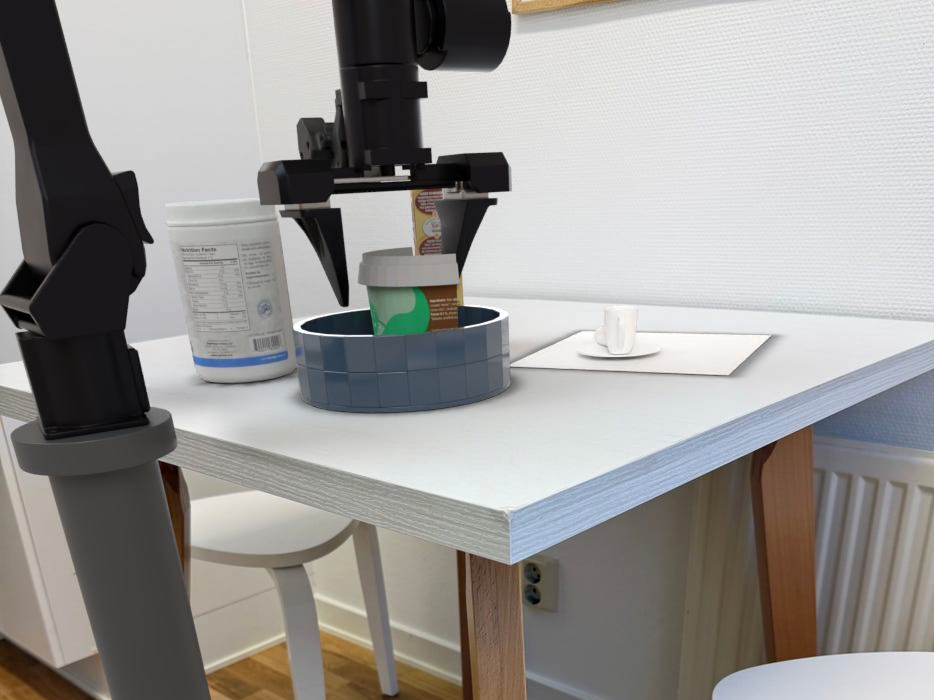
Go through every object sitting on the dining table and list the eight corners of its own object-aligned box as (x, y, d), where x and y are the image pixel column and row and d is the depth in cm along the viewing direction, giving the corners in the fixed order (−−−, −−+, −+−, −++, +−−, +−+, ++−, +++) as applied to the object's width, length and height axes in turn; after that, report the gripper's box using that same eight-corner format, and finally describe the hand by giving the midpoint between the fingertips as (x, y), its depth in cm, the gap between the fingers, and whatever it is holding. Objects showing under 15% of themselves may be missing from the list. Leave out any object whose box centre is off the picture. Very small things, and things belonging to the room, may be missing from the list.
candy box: (468, 359, 84) (459, 178, 77) (424, 362, 84) (411, 181, 77) (460, 344, 92) (451, 179, 85) (420, 347, 91) (408, 181, 84)
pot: (347, 424, 63) (337, 345, 60) (274, 386, 77) (264, 320, 74) (550, 389, 70) (549, 317, 68) (451, 360, 84) (447, 299, 81)
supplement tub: (218, 366, 87) (188, 201, 80) (311, 363, 86) (289, 195, 79) (180, 387, 79) (142, 204, 72) (282, 384, 78) (254, 198, 71)
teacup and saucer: (595, 344, 88) (596, 300, 86) (674, 346, 84) (676, 301, 83) (563, 360, 81) (563, 313, 79) (647, 363, 78) (649, 314, 76)
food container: (353, 375, 77) (339, 251, 73) (419, 367, 79) (410, 246, 75) (390, 401, 67) (376, 260, 63) (465, 392, 69) (458, 253, 64)
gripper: (444, 82, 73) (455, 283, 80) (221, 82, 65) (256, 304, 73) (512, 65, 64) (518, 292, 72) (264, 62, 57) (298, 317, 64)
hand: (398, 300), depth 70 cm, fingers open, 9 cm apart
